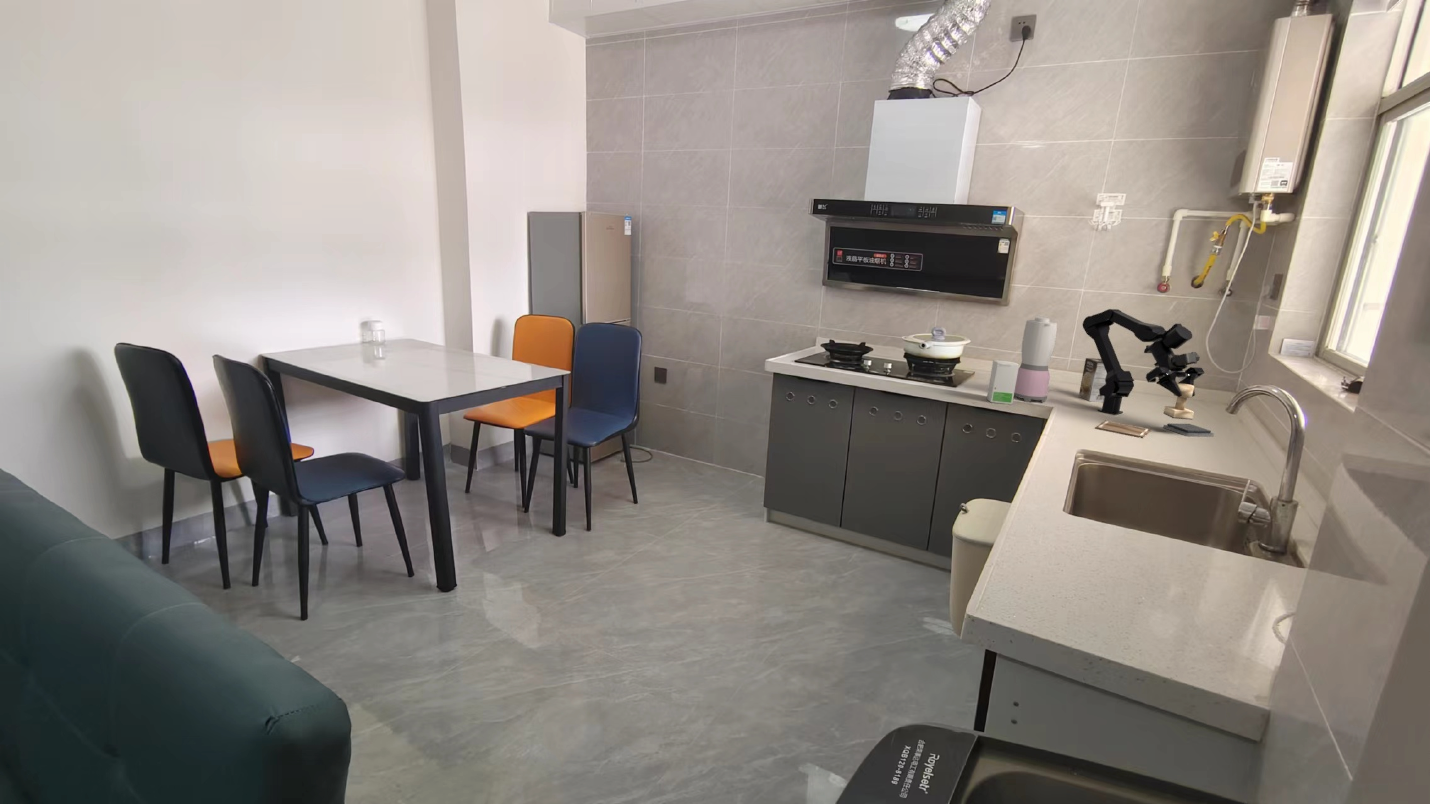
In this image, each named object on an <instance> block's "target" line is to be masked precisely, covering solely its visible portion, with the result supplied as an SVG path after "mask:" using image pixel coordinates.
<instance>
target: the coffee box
mask: <svg viewBox="0 0 1430 804" xmlns="http://www.w3.org/2000/svg"><path fill="white" fill-rule="evenodd" d="M1084 360H1085V361H1084V365H1083V366H1084V367H1083V371H1082V377H1081V381H1080V388H1079V393H1078V397H1080V398H1082V399H1084V400H1086V401H1088V402H1096V403H1097V402H1098V403H1103V401H1104V396H1103V395H1100V394H1099V389H1100V388H1101V387H1102V386H1104V385H1105V384H1106V382H1105V378H1106V375H1107V372H1106V370H1105V367H1104V364H1103V362H1102V359H1101V358H1090V357H1086V358H1085V359H1084Z"/></svg>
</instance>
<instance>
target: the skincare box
mask: <svg viewBox="0 0 1430 804" xmlns="http://www.w3.org/2000/svg"><path fill="white" fill-rule="evenodd" d="M1019 367H1020V364H1019V363H1017V362H1015V361H1008V360H1000V359H993V360H992V365H991V371H990V377H989V383H988V388H987V394H986V400H988V402H990V403H994V404H995V403H996V404H1003V405H1004V404H1006V405H1013V401H1014V397H1015V396H1014V391H1015V385H1016V379H1017V374H1018V368H1019Z"/></svg>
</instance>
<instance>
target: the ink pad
mask: <svg viewBox="0 0 1430 804" xmlns="http://www.w3.org/2000/svg"><path fill="white" fill-rule="evenodd" d="M1163 429H1166V430H1169V431H1172V432H1174V433H1177V434H1180V435H1183V436H1185V437H1214V435H1215V433H1213V432H1211V431H1212V430H1209V429H1207V428H1205V427H1200V426H1197V425H1195V424H1192V423H1171V422H1170V423H1167V424H1163Z"/></svg>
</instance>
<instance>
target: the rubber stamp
mask: <svg viewBox="0 0 1430 804" xmlns="http://www.w3.org/2000/svg"><path fill="white" fill-rule="evenodd" d="M1177 385H1178V387H1179V389H1180V391H1181V394H1182V396H1181V397H1178V396H1176V395H1175V394H1173V396H1174V397H1176V401H1175V402H1176V403H1175V405H1174V406H1170V405H1168V406H1167V405H1165V406H1164V408H1163V415H1166V416H1167V417H1169V418H1172V419H1174V420H1175V419H1178V420H1189V421H1190V420H1194V419H1193V418H1194V416H1195V412H1194V411H1193V410H1191V409H1188V408H1186V404H1187V399H1192V398H1193V397H1192V394H1193V390H1194V391H1195V385H1194V386H1193V385H1189V384H1182V383H1179V382H1177Z"/></svg>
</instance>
